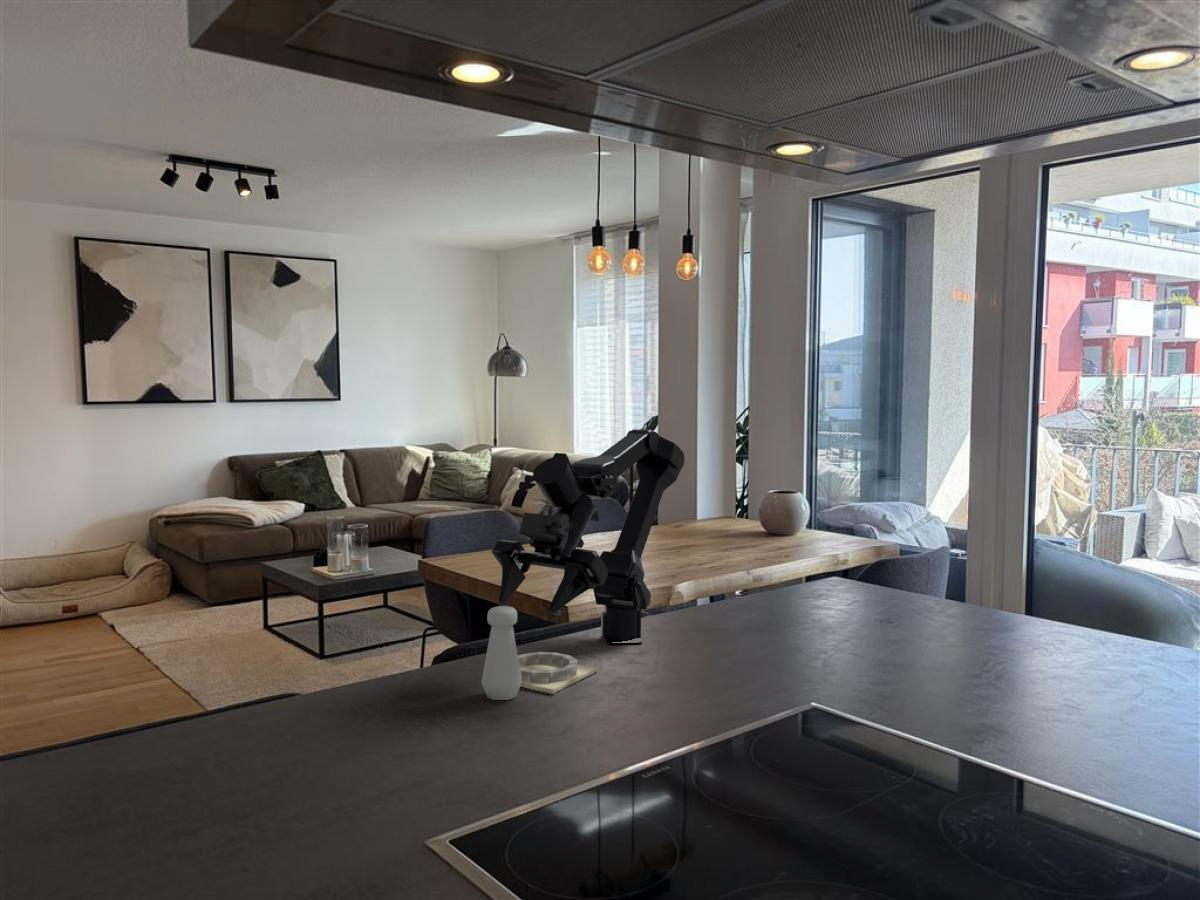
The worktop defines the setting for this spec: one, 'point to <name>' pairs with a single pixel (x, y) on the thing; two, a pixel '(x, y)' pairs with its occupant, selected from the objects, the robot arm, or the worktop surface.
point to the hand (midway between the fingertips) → (525, 607)
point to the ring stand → (550, 670)
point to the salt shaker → (501, 656)
